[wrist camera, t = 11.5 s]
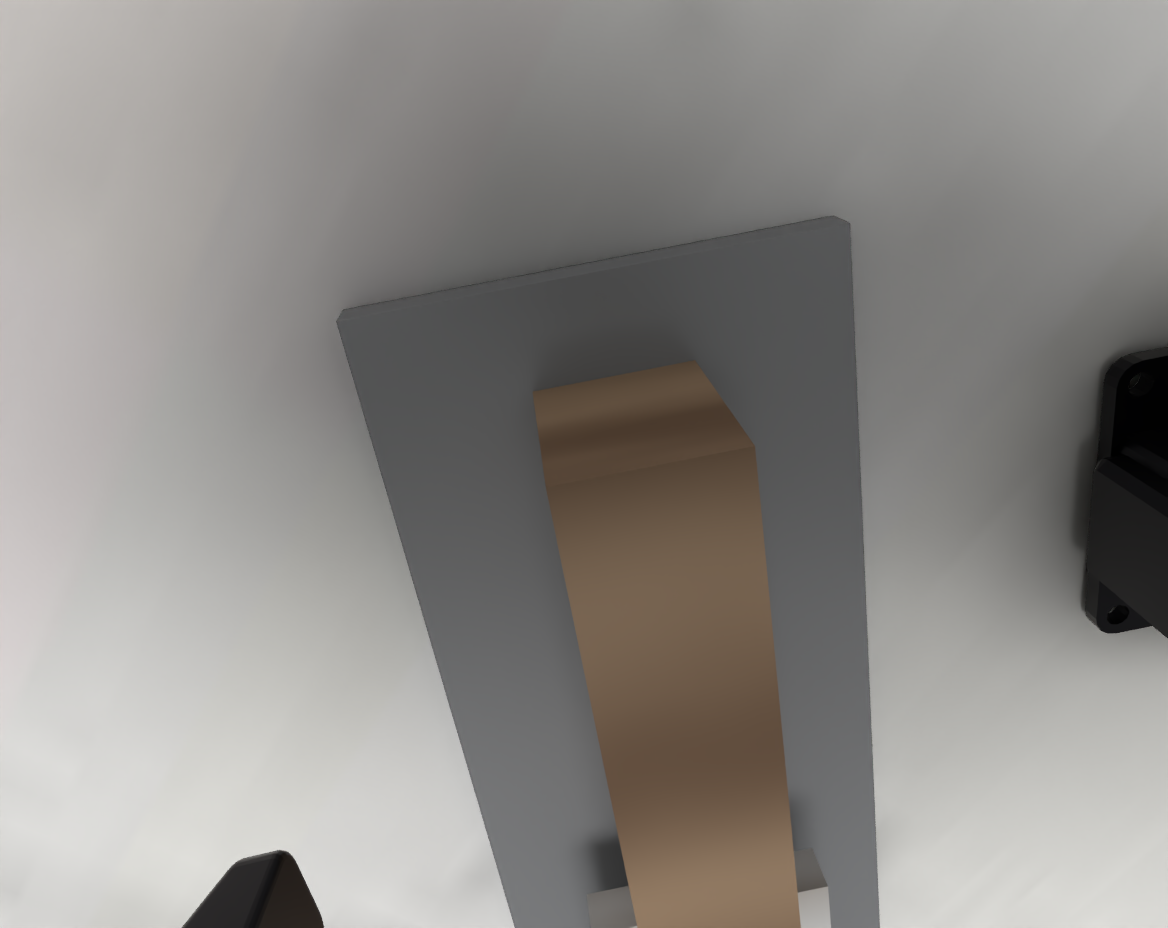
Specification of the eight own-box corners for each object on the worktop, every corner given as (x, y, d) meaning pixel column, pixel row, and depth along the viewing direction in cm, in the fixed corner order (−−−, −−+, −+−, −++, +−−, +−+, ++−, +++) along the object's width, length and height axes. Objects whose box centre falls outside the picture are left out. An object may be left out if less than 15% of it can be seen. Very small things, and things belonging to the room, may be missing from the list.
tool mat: (833, 215, 16) (849, 222, 15) (873, 1019, 26) (885, 1047, 25) (343, 309, 16) (336, 321, 15) (567, 1084, 26) (569, 1114, 25)
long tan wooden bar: (478, 401, 16) (475, 501, 13) (748, 349, 16) (824, 432, 13) (629, 1052, 24) (655, 1228, 20) (811, 1014, 24) (868, 1183, 21)
